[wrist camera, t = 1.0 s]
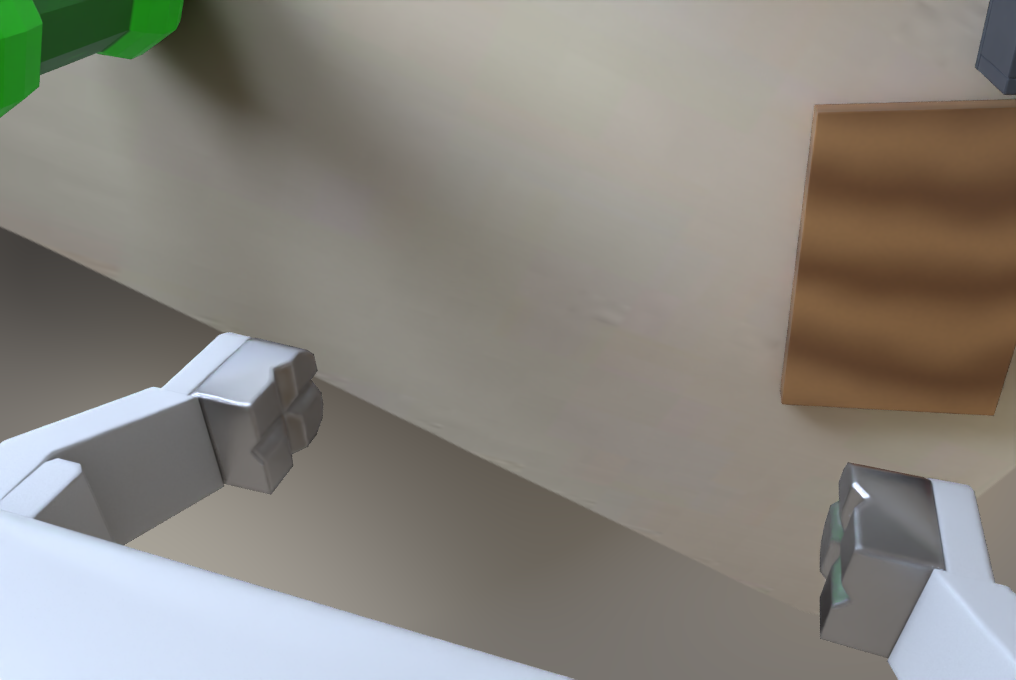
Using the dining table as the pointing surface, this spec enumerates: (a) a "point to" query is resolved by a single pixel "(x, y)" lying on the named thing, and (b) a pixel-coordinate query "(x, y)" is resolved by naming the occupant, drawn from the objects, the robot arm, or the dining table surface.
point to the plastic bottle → (74, 36)
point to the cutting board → (905, 259)
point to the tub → (999, 46)
